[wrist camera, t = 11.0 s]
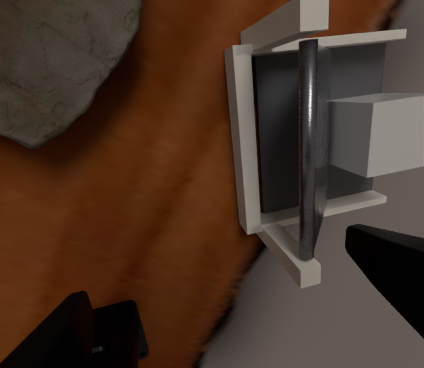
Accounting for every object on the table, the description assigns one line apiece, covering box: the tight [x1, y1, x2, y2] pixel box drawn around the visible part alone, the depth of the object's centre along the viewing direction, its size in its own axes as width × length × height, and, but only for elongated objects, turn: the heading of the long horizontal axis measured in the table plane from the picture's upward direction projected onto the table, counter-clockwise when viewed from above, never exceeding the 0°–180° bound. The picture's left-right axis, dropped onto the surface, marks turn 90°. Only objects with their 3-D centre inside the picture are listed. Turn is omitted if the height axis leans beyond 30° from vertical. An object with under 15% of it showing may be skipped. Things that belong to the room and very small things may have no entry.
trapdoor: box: [299, 39, 332, 260], centre depth 18 cm, size 8×12×1 cm
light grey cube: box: [328, 93, 424, 178], centre depth 20 cm, size 5×5×5 cm
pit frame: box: [224, 0, 407, 288], centre depth 19 cm, size 13×16×8 cm
